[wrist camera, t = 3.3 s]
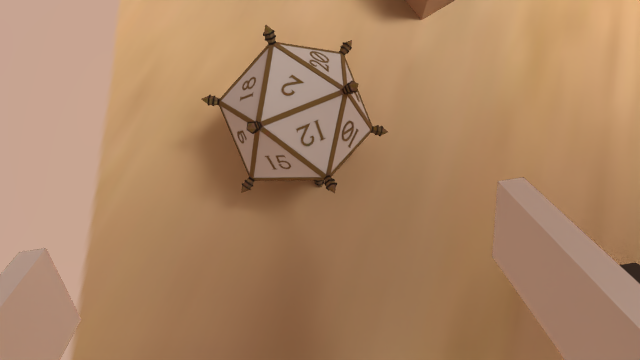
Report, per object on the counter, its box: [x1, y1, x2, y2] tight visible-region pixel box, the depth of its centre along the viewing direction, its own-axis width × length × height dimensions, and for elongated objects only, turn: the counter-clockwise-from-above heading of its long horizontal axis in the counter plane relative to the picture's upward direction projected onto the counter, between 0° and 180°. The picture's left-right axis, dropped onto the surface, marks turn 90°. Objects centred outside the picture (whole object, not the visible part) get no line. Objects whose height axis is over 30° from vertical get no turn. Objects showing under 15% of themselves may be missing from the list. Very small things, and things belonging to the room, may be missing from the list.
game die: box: [202, 25, 387, 193], centre depth 24 cm, size 9×8×10 cm
